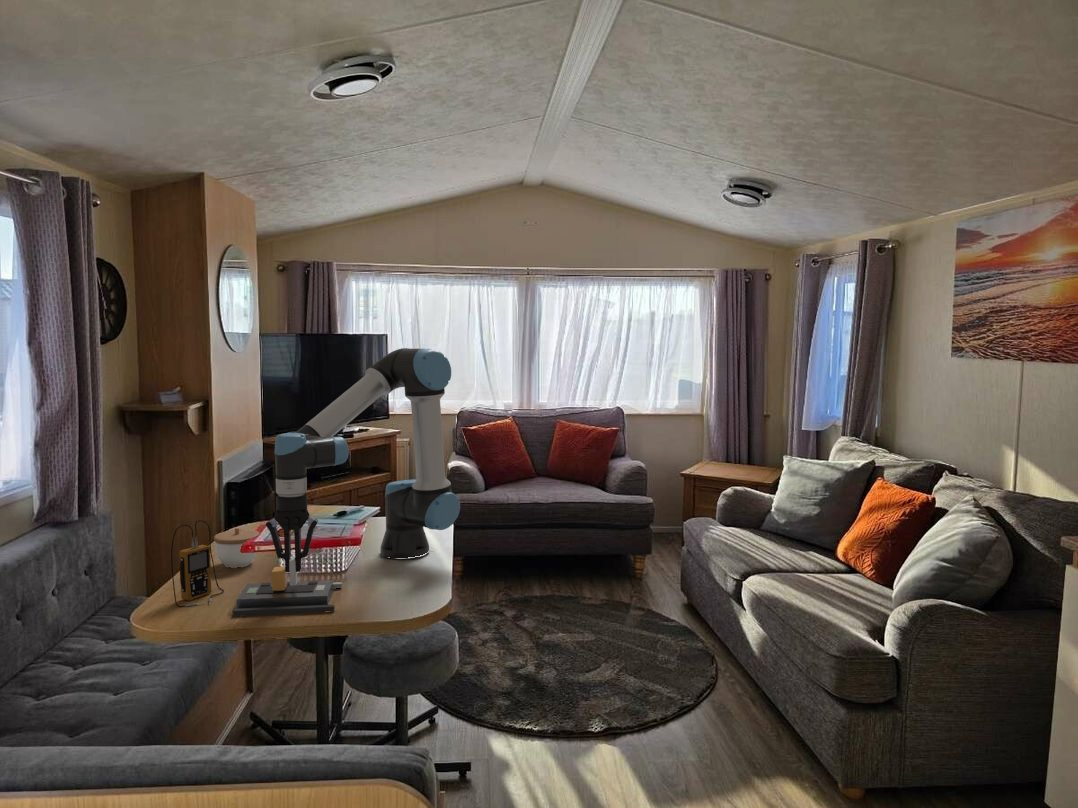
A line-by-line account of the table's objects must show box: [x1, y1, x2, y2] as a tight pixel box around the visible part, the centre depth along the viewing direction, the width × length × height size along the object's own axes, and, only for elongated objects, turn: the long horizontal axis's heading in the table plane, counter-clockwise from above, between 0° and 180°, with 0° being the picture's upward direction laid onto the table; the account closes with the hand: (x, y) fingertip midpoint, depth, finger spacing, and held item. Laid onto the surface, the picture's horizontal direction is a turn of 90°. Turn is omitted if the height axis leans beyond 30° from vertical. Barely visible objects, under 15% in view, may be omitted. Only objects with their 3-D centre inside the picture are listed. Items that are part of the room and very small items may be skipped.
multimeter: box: [170, 519, 225, 608], centre depth 199 cm, size 15×10×20 cm
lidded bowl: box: [213, 527, 260, 569], centre depth 229 cm, size 13×13×11 cm
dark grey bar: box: [232, 604, 336, 617], centre depth 190 cm, size 24×1×1 cm, turn 98°
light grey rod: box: [333, 581, 343, 590], centre depth 208 cm, size 24×1×1 cm, turn 98°
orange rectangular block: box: [271, 566, 288, 591], centre depth 198 cm, size 3×4×5 cm
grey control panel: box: [235, 580, 334, 609], centre depth 199 cm, size 22×12×3 cm, turn 98°
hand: (293, 583), depth 199 cm, fingers closed
